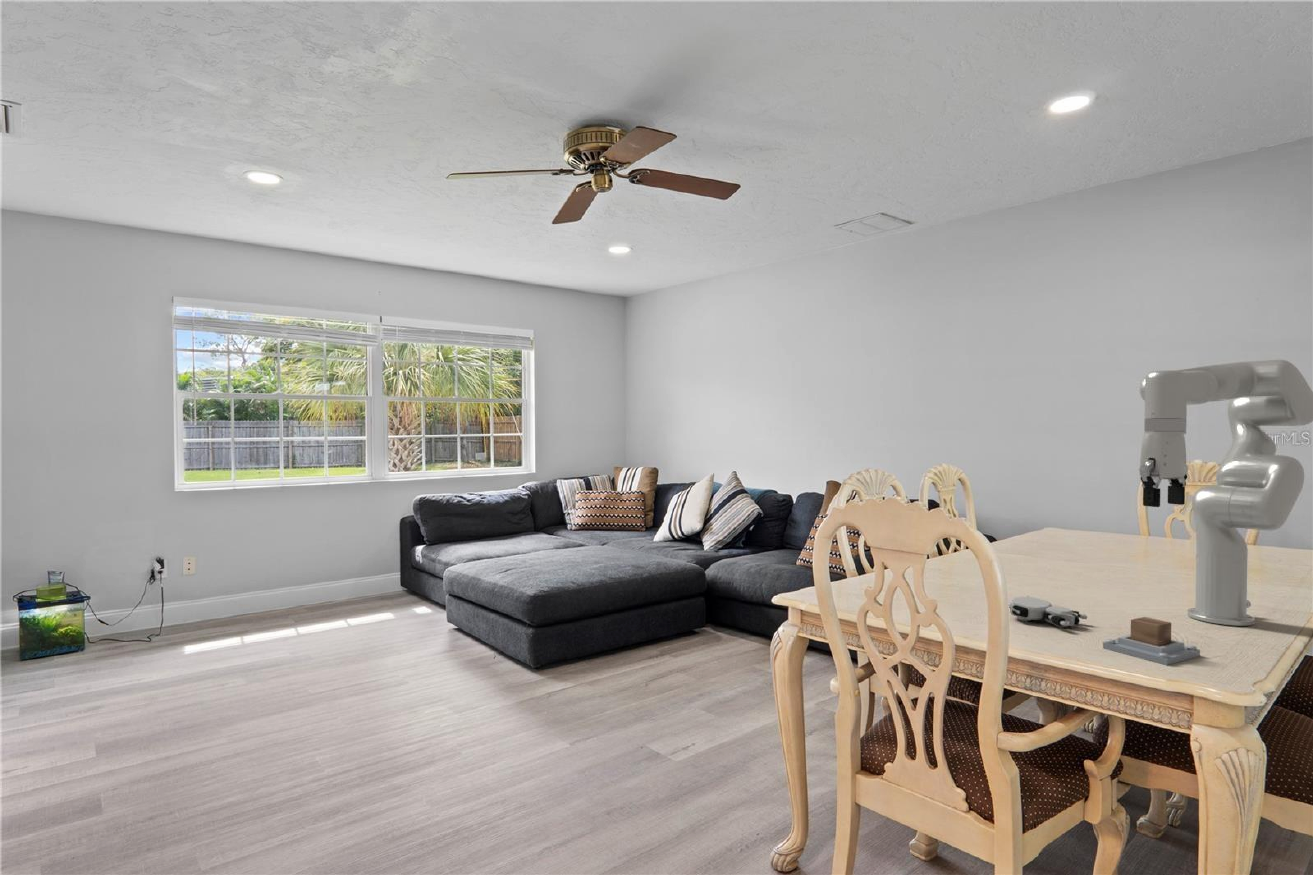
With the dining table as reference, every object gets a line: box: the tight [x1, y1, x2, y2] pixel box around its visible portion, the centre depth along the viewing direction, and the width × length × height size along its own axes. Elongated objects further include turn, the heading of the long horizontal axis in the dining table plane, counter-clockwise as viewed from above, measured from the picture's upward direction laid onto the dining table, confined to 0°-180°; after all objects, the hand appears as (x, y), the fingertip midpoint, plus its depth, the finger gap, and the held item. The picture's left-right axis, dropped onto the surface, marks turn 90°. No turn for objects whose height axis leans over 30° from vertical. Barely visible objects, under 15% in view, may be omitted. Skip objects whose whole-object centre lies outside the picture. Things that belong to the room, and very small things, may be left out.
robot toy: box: [1008, 595, 1088, 628], centre depth 168 cm, size 12×4×15 cm
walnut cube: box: [1130, 616, 1172, 647], centre depth 146 cm, size 5×5×5 cm
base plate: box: [1102, 634, 1201, 666], centre depth 146 cm, size 12×12×2 cm
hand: (1163, 505), depth 158 cm, fingers open, 9 cm apart
